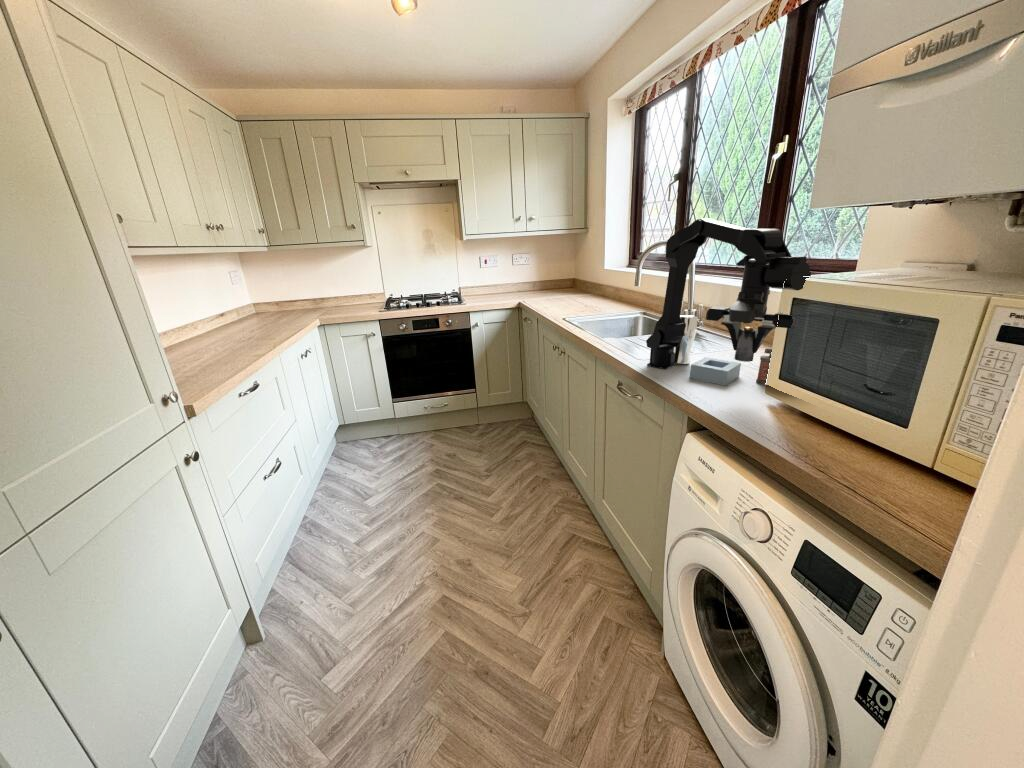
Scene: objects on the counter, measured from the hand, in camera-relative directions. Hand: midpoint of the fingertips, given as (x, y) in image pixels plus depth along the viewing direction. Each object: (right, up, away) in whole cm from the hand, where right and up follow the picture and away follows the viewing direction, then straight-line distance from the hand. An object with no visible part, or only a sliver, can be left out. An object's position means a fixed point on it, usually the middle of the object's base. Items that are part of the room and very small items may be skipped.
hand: (744, 351), depth 97 cm
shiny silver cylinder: (-2, -1, +32) cm, 32 cm away
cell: (0, -2, +1) cm, 2 cm away
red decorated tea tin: (+14, -8, +11) cm, 20 cm away
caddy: (+2, -6, +18) cm, 19 cm away
